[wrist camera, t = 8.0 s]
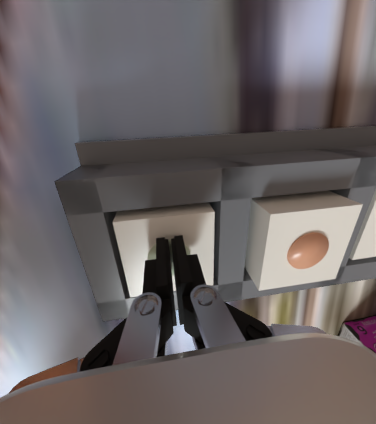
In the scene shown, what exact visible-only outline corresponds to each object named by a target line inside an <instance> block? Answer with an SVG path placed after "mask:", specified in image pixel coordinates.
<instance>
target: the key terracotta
mask: <svg viewBox="0 0 376 424" xmlns="http://www.w3.org/2000/svg"><path fill="white" fill-rule="evenodd" d="M362 206H363V204H361V203H358V202H356V201H353V200H351V199H348V198H346V197H343V196H341V195H338V194H336V193H333V192H331V191H318V192H308V193H298V194H287V195H277V196H267V197H256V198H252V200H251V210H250V219H249V229H248V238H247V248H246V257H245V269H246V271H247V272H248V274H249V276H250V277H251V279H252V280H253V282H254V284H255V285H256V287H257V289H258V290H259V291H261V290H267V289H274V288H280V287H287V286H293V285H299V284H306V283H312V282H319V281H325V280H331V279H336V276H337V273H338V270H339V268H340V265H341V262H342V260H343V257H344V254H345V252H346V249H347V246H348V244H349V241H350V238H351V236H352V233H353V230H354V227H355V225H356V222H357V219H358V217H359V214H360V211H361V209H362Z"/></svg>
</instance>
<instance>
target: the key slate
mask: <svg viewBox="0 0 376 424" xmlns="http://www.w3.org/2000/svg"><path fill="white" fill-rule="evenodd" d="M370 257H376V189H375V192H374V195H373V197H372V200H371V202H370V205H369V207H368V210H367V213H366V215H365V218H364V220H363V223H362V226H361V228H360V231H359V233H358V236H357V238H356V241H355V244H354V246H353V249H352V251H351V254H350V256H349V258H350V259H351V260H356V259H363V258H370Z"/></svg>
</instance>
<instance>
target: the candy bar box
mask: <svg viewBox="0 0 376 424" xmlns="http://www.w3.org/2000/svg"><path fill="white" fill-rule="evenodd" d="M338 336H340V337H344V338H347V339H350V340H353V341H356V342H358V343H360V344H362V345H364V346H366V347H367V348H369V349H370V350H372V351H373V352H374V353H376V316H373V317H369V318H364V319H359V320H354V321H350V322H345V323H343V324H342V326H341V329H340V332H339V335H338Z"/></svg>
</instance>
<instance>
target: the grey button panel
mask: <svg viewBox="0 0 376 424" xmlns="http://www.w3.org/2000/svg"><path fill="white" fill-rule="evenodd" d="M75 146H76V150H77V153H78V157H79V160H80V164H81V166H80V167H78V168H77V169H75V170H73V171H71V172H70V173H68V174H66V175H65V176H63V177H61V178H60V179H58V180H56V181H54V182H55V185H56V188H57V191H58V194H59V197H60V199H61V202H62V205H63V208H64V211H65V214H66V217H67V220H68V223H69V225H70V228H71V231H72V234H73V237H74V240H75V243H76V246H77V249H78V251H79V254H80V257H81V260H82V263H83V266H84V269H85V272H86V275H87V277H88V280H89V283H90V286H91V289H92V292H93V295H94V298H95V301H96V303H97V306H98V309H99V312H100V315H101V318H102V321H103V322H105V321H111V320H117V319H123V318H126V317H128V313H129V310H130V307H131V304H132V302H133V300H134V299H135V298H136V297H130V294H129V290H128V286H127V282H126V277H125V273H124V269H123V265H122V260H121V256H120V252H119V248H118V243H117V239H116V235H115V231H114V226H113V220H114V218H115V215H116V213H117V211H123V210H133V209H143V208H154V207H164V206H174V205H184V204H195V203H205V202H209V204H210V205H211V207H212V208H213V210H214V212H215V220H214V275H213V285H211V286H213V287H214V288H216V289H217V291H218V292H219V294H220V295H221V297H222V299H223V301H224V302H230V301H236V300H242V299H248V298H255V297H261V296H267V295H273V294H279V293H286V292H292V291H298V290H304V289H311V288H317V287H323V286H329V285H336V284H342V283H348V282H354V281H361V280H367V279H373V278H376V257H370V258H363V259H356V260H351V259H350V258H349V256H350V254H351V251H352V249H353V246H354V244H355V241H356V238H357V236H358V233H359V231H360V228H361V226H362V223H363V220H364V218H365V215H366V213H367V210H368V207H369V205H370V202H371V200H372V197H373V195H374V192H375V189H376V125H375V126H358V127H340V128H322V129H304V130H286V131H268V132H250V133H233V134H215V135H197V136H179V137H161V138H143V139H126V140H108V141H90V142H78V143H75ZM318 191H331V192H333V193H336V194H338V195H341V196H343V197H346V198H348V199H351V200H353V201H356V202H358V203H361V204H363V206H362V209H361V211H360V214H359V217H358V219H357V222H356V225H355V227H354V230H353V233H352V236H351V238H350V241H349V244H348V246H347V249H346V252H345V254H344V257H343V260H342V262H341V265H340V268H339V270H338V273H337V276H336V279H331V280H325V281H319V282H312V283H306V284H299V285H293V286H287V287H280V288H274V289H267V290H261V291H259V290H258V289H257V287H256V285H255V284H254V282H253V280H252V279H251V277H250V276H249V274H248V272H247V271H246V269H245V257H246V248H247V238H248V229H249V219H250V210H251V200H252V198H256V197H267V196H277V195H287V194H298V193H308V192H318ZM173 292H174V302H175V310H178V303H177V294H176V291H173ZM137 297H138V296H137Z"/></svg>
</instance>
